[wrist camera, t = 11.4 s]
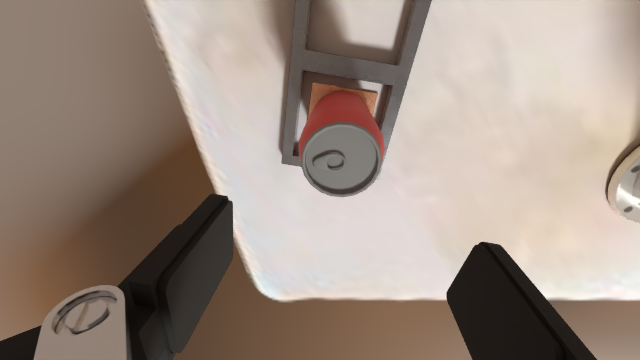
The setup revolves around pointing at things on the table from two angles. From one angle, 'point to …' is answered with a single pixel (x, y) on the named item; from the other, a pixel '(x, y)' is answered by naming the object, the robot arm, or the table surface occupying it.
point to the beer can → (341, 145)
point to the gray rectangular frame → (348, 75)
